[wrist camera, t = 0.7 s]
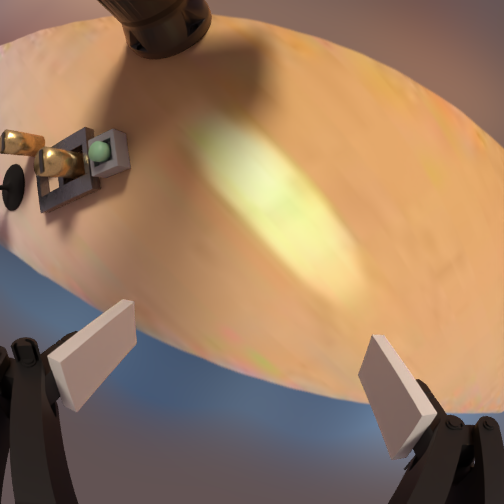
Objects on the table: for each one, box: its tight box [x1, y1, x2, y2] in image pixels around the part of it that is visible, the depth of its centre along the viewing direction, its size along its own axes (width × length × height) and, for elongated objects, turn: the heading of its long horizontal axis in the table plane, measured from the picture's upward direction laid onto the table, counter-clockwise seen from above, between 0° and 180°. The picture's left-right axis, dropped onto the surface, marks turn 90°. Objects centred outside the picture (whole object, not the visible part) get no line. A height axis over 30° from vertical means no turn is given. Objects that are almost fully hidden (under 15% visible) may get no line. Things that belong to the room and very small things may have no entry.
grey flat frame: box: [36, 127, 101, 213], centre depth 37 cm, size 11×14×2 cm
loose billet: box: [0, 130, 45, 157], centre depth 33 cm, size 4×4×10 cm
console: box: [88, 129, 131, 178], centre depth 36 cm, size 6×5×4 cm
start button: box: [88, 141, 111, 162], centre depth 33 cm, size 3×3×2 cm
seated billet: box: [34, 147, 85, 178], centre depth 33 cm, size 4×4×10 cm
